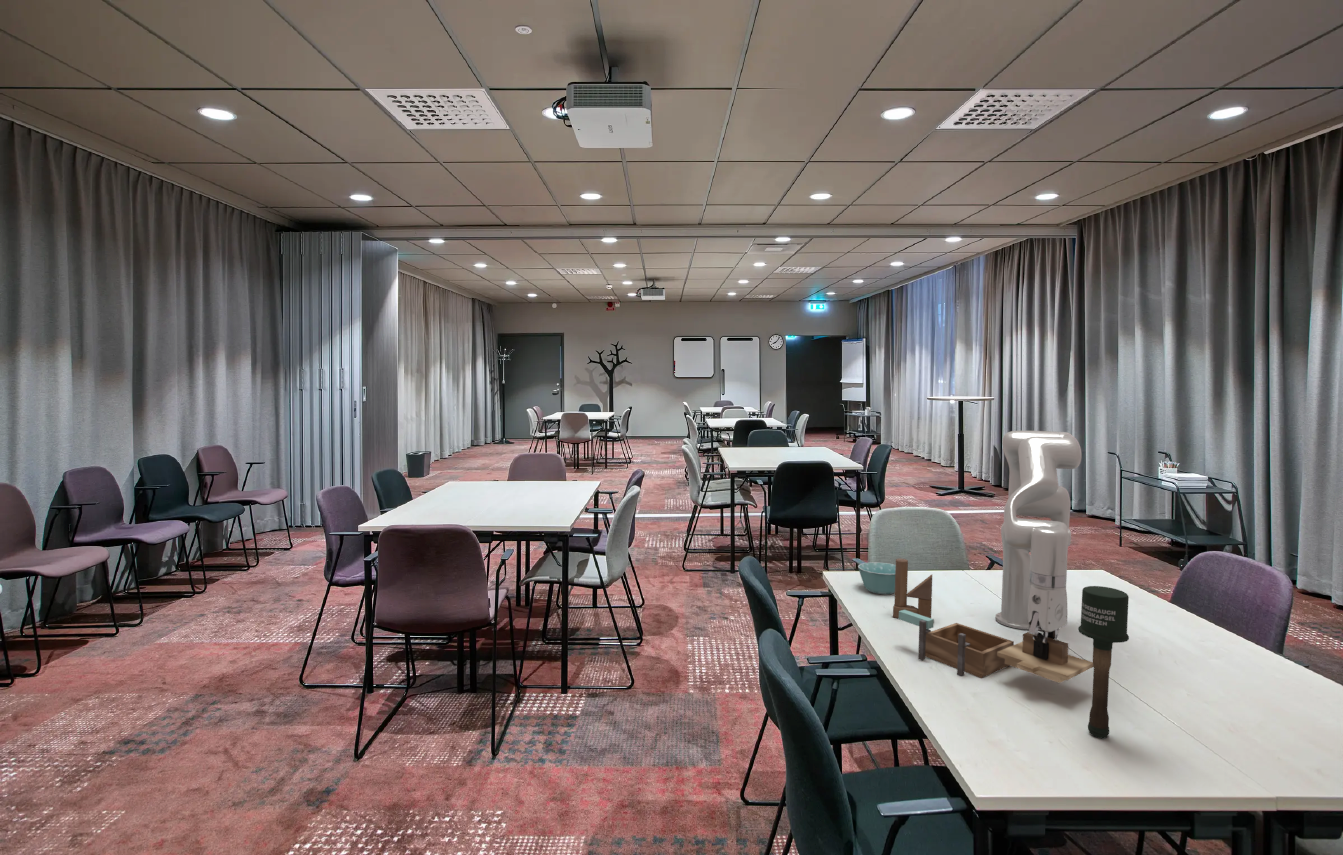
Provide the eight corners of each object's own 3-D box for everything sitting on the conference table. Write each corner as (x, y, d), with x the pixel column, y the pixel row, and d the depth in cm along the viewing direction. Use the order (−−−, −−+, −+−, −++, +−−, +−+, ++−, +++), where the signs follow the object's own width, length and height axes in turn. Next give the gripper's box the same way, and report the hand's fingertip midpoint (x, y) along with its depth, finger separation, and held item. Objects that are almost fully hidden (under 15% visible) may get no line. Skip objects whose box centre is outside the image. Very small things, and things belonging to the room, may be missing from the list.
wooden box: (956, 643, 183) (957, 607, 183) (1014, 663, 170) (1015, 625, 170) (916, 658, 173) (918, 620, 173) (974, 681, 160) (976, 640, 159)
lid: (1024, 650, 167) (1025, 623, 166) (1093, 672, 154) (1094, 643, 153) (990, 664, 158) (991, 635, 158) (1061, 689, 145) (1062, 658, 145)
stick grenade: (1064, 725, 140) (1070, 585, 138) (1102, 723, 140) (1109, 584, 138) (1093, 746, 131) (1100, 598, 129) (1134, 745, 132) (1141, 597, 130)
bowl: (854, 583, 239) (855, 560, 238) (899, 585, 237) (900, 562, 236) (861, 596, 224) (861, 572, 223) (909, 599, 221) (910, 574, 221)
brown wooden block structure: (930, 623, 199) (931, 564, 197) (892, 618, 203) (894, 560, 202) (931, 619, 202) (933, 561, 201) (894, 614, 207) (895, 557, 206)
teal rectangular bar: (904, 617, 182) (904, 609, 181) (933, 627, 174) (933, 619, 174) (898, 619, 180) (898, 611, 180) (927, 629, 173) (928, 621, 173)
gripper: (1046, 589, 148) (1043, 670, 149) (1081, 577, 157) (1077, 653, 158) (1013, 581, 154) (1010, 658, 155) (1048, 570, 163) (1045, 643, 164)
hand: (1044, 655), depth 156 cm, fingers closed on lid, 2 cm apart
